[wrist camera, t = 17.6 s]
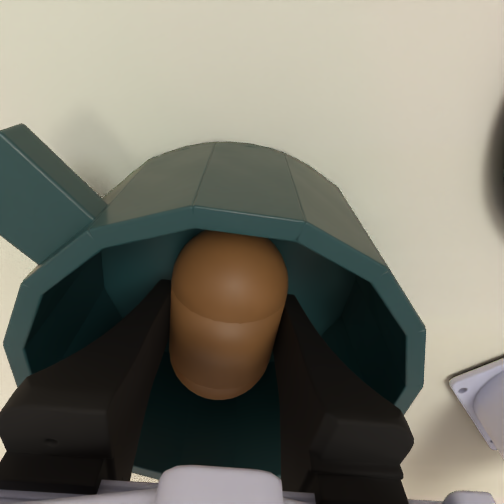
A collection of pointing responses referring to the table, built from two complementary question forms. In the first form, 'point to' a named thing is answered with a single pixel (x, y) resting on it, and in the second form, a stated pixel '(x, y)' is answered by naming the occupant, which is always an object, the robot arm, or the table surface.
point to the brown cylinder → (225, 312)
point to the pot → (161, 267)
